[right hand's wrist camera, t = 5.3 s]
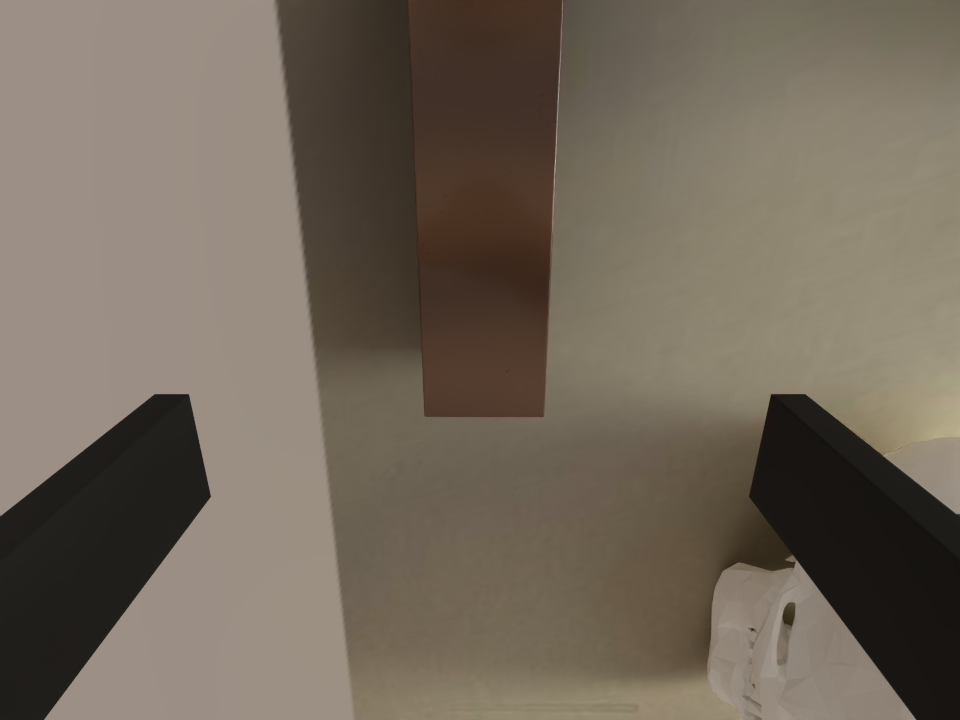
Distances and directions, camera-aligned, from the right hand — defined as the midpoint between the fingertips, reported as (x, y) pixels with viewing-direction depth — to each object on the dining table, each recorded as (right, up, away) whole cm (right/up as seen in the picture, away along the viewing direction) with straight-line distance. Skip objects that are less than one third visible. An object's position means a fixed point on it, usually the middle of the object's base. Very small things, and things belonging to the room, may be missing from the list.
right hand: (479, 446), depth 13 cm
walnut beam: (0, +13, +11) cm, 16 cm away
